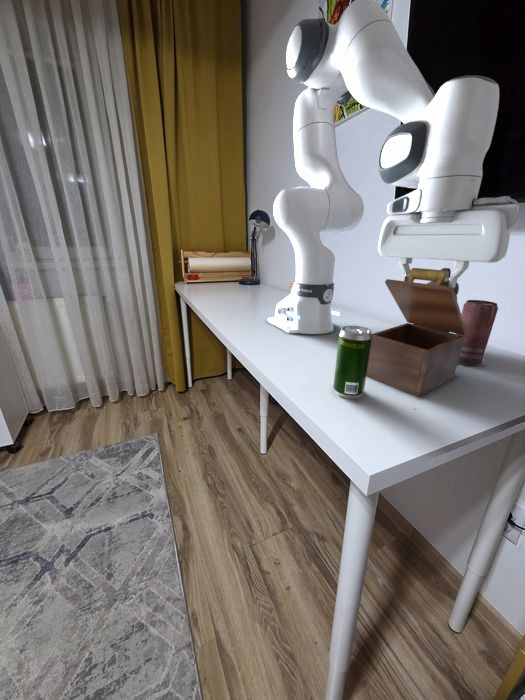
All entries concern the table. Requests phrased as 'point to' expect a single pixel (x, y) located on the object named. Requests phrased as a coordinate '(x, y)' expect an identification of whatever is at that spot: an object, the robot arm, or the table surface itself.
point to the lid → (428, 301)
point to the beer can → (352, 361)
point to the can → (476, 330)
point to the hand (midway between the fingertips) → (426, 285)
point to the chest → (414, 357)
